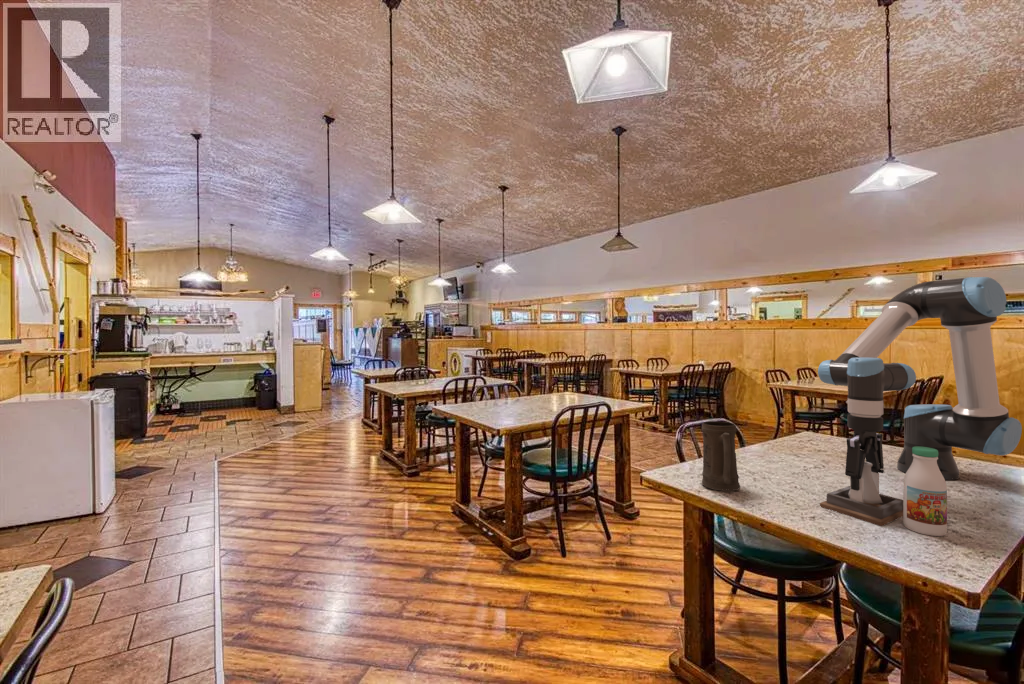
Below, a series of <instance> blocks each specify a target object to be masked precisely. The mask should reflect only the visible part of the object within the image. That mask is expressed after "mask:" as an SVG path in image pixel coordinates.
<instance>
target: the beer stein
mask: <svg viewBox="0 0 1024 684" xmlns="http://www.w3.org/2000/svg"><path fill="white" fill-rule="evenodd" d="M701 425H702V426H701V430H702V436H703V437H702V443H703V446H702V447H703V448H702V451H703V452H702V459H703V461H702V473H701V475H702V480H701V484H702V485H703V486H704V487H705V488H708V489H710V490H716V491H725V492H728V491H730V492H733V491H737V490H740V488H741V486H740V485H741V484H740V482H739V478H740V476H739V474H738V466H737V453H736V433H737V431H738V429H737V425H736V424H735V423H733V422H727V421H703V422H702V423H701Z"/></svg>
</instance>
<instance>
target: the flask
mask: <svg viewBox="0 0 1024 684" xmlns="http://www.w3.org/2000/svg"><path fill="white" fill-rule="evenodd" d="M872 466H873V464H872V463H869V462H866V461H865V462H864V467H863V472H862V477H861V478H863V479H864V496H863V502H865V503H872V504H875V503H882V500H881V498H880V495H879V494H880V492H879V493H878V491H877V488H876V486H875V483H874V481H873V478H872V473H871V467H872ZM848 496H849V497H850V491H849V493H848Z"/></svg>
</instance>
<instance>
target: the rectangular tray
mask: <svg viewBox="0 0 1024 684" xmlns="http://www.w3.org/2000/svg"><path fill="white" fill-rule="evenodd" d="M849 491H850V485H849V486H845V487H842V488H840V489H837V490H834V491H832V492H828V493H826V500H825V501H821V502H820V503H819V507H820V506H821V507H820V508H823V509H827V510H829V509H830V511H832V510H833V512H835V511H837V512H836V513H838V512H839V514H842V515H845V516H848V517H852V518H854V519H858V520H861V521H864V522H866V523H867V522H868V523H870V524H873V525H877V526H879V527H883V526H885V525H888V524H890V523H891V522H894V521H896V520H898V519H900V518H903V499H900V498H898V497H894V496H889V495H887V494H881V493H879V495H880V498H881V500H882V503H875V504H872V503H865V502H863V503H862V502H858V501H855V500H852V499H850V497H849V496H848V493H849Z"/></svg>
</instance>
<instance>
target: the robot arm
mask: <svg viewBox="0 0 1024 684" xmlns="http://www.w3.org/2000/svg"><path fill="white" fill-rule="evenodd" d="M1006 305H1007V296H1006V292H1005V290H1004V288H1003V286H1002V285H1001V284H1000V282H999V281H997V280H996V279H994V278H992V277H990V276H989V277H988V276H977V277H975V276H974V277H973V276H970V277H961V278H960V277H959V278H951V279H950V278H949V279H941V280H930V281H929V280H928V281H923V282H921V283H920V282H919V283H917V284H914V285H912V286H910V287H908V288H906V289H904V290H902V291H900V292H899V293H897V294H896V295H894V296H893V297H892V298H891V299H889V300H888V301H887V302H886V303H885V304H884V305H883V306H882V308H881V313H880V314H879V316H878V317H876V318H875V319H874V320H873V321H872V322H871V323H870V324H869V326H867V328H866V329H865V330H863V332H862V333H861V334H860V335H859V336H857V338H856V339H855V340H854V341H852V342H851V344H850V345H849V346H848V347H847V348H846V349H845V350H844V351H843V352H842V353H841V354H840V355H839V356H838V357H837V358H836V359H826V360H823V361H821V362H820V364H819V366H818V368H817V375H818V377H819V380H820V381H821V382H823V384H827V385H834V386H839V387H840V386H841V387H847V400H846V401H845V403H846V404H847V412H848V413H849V414H847V418H846V419H847V420H846V421H847V427H848V429H851V430H853V435H852V438H850V437H847V439H846V457H845V459H846V460H845V468H844V469H845V476H846V477H849V479H850V481H849V483H850V484H849V486H850V499H852V500H855V501H858V502H862V503H863V496H864V479H863V478H861V477H862V472H863V467H864V462H869V463H872V464H873V466H872V467H871V473H872V478H873V481H874V483H875V486H876V488H877V491H878V493H879V494H880V474H884V472H885V470H884V466H885V465H884V464H885V463H884V453H883V452H884V451H883V434H882V433H877V432H882V431H883V430H884V418H883V417H882V416H883V415H884V414H885V413H884V392H892V391H896V392H899V391H903V390H906V389H910V388H912V387H913V385H914V384H916V380H917V374H916V372H915V370H914V369H913V368H912V367H911V366H910V365H908V364H905V363H902V362H891V363H884V361H883V359H881V358H880V357H879V356H880V355H881V354H882V353H883V352H884V351H886V349H887V348H888V347H889V346H890V345H891V344H892V343H893V342H894V340H895V339H897V337H898V336H899V335H901V333H902V332H904V330H905V329H906V328H908V327H912V326H913V325H915V324H916V323H917V322H918V321H921V320H924V319H940V326H941V327H943V328H945V329H947V330H948V332H949V340H950V341H949V343H950V348H951V349H950V350H951V356H952V357H951V358H952V364H953V370H954V379H955V385H956V386H955V387H956V393H957V402H958V404H956V405H955V406H954V407H953V406H952V405H951V404H941V403H940V404H936V403H935V404H930V403H928V404H927V403H926V404H909V405H907V406H906V407H905V408H904V414H903V425H904V426H903V427H904V430H903V433H904V435H903V436H904V437H903V441H904V442H903V449H902V451H901V453H900V455H899V457H898V459H897V462H896V463H897V464H896V466H897V467H896V468H897V470H899V471H901V472H903V473H905V474H906V472H907V470H908V469H909V467H910V466H911V464H912V462H913V456H912V455H913V453H912V448H913V447H915V446H921V447H929V448H933V449H936V450H938V459H937V465H938V467H939V470H940V472H941V473H942V475H943V477H944V479H945V481H947V480H949V481H952V480H957V479H959V478H960V470H959V467H958V465H957V462H956V460H955V457H954V455H953V449H952V448H957V449H963V450H968V451H972V452H976V453H977V452H978V453H982V454H983V453H984V455H994V456H1006V455H1009V454H1011V453H1012V452H1014V450H1015V449H1016V448H1017V446H1018V445H1019V442H1020V440H1021V437H1022V430H1023V427H1022V423H1021V422H1020V420H1019V419H1017V418H1014V417H1013V416H1011V417H1010V415H1009V408H1007V407H1005V406H1004V405H1002V404H1001V403H1000V396H999V395H1000V394H999V387H998V381H997V380H998V379H997V372H996V363H995V356H994V347H993V339H992V333H991V331H992V330H991V327H992V326H993V325H994V324H995V323H996V322H998V317H999V316H1002V315H1003V314H1004V312H1005V311H1006V309H1007V307H1006Z"/></svg>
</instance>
